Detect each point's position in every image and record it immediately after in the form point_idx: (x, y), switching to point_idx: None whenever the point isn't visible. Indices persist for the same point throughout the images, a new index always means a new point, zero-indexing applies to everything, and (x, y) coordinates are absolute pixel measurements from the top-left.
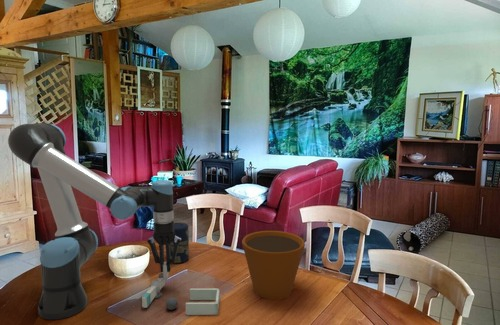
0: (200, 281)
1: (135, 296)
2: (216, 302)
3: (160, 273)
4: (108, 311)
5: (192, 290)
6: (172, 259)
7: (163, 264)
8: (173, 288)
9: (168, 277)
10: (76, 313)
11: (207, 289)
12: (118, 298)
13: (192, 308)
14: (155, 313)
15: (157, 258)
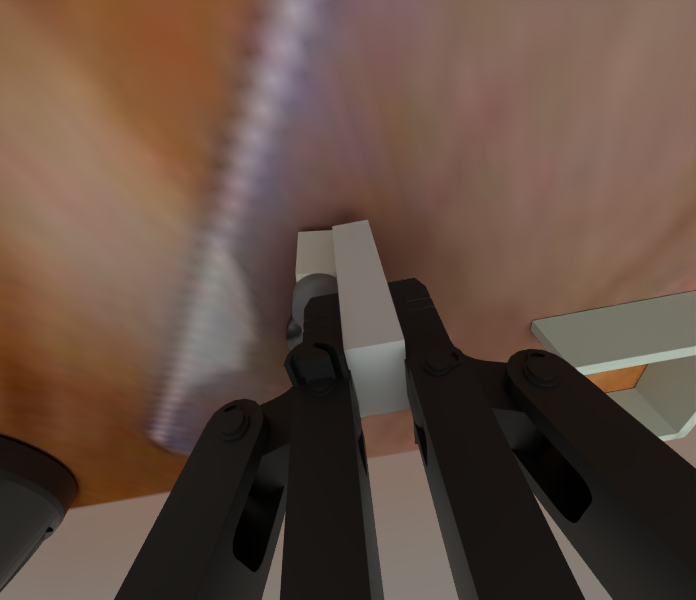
0: (654, 42)
1: (208, 356)
2: (682, 433)
3: (301, 294)
4: (184, 455)
5: (583, 370)
6: (539, 474)
7: (361, 405)
8: (410, 228)
9: (368, 222)
10: (75, 489)
11: (686, 356)
12: (130, 387)
13: None
14: (385, 429)
15: (276, 535)
